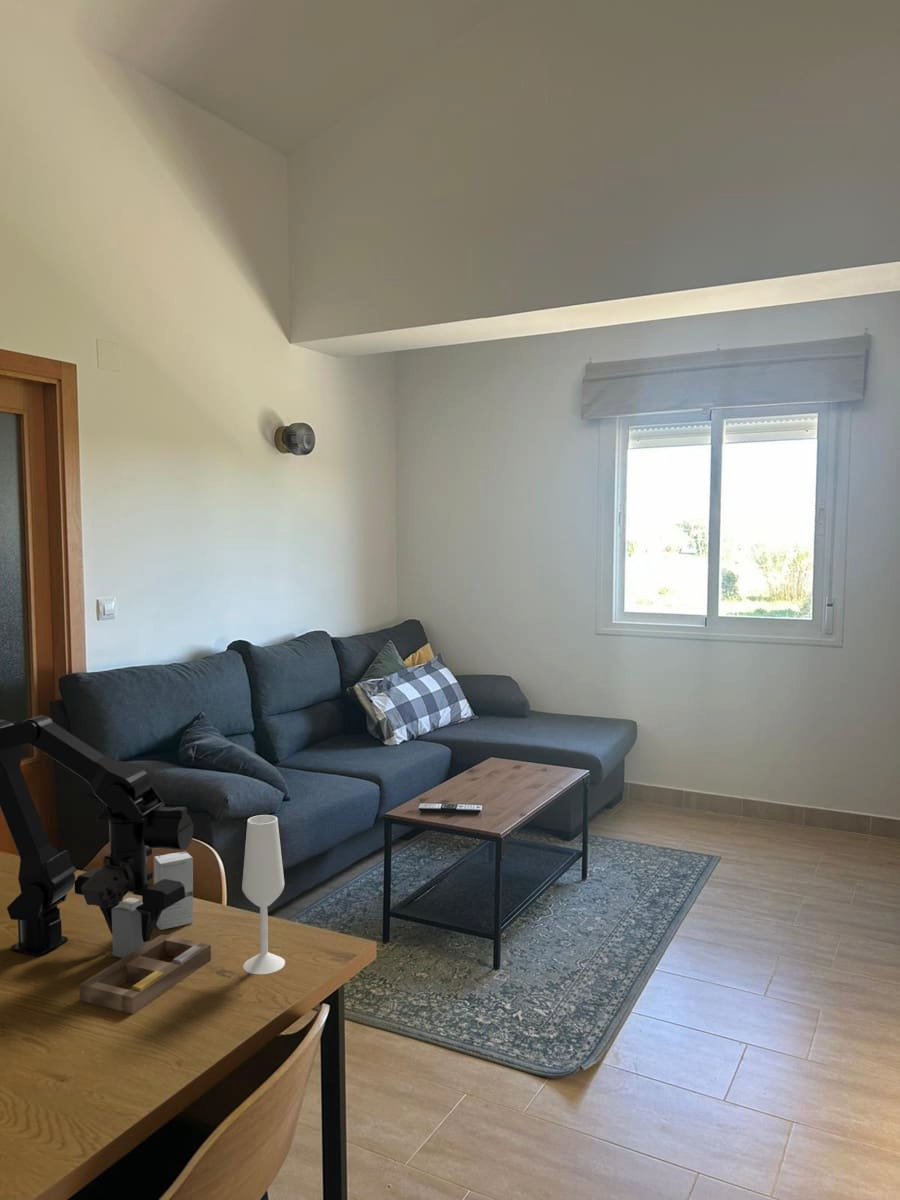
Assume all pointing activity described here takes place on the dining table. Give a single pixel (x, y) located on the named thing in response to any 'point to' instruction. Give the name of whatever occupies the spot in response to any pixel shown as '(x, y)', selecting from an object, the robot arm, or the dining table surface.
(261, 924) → the champagne flute
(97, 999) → the brown wooden flat frame
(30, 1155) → the dining table surface
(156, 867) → the skincare box
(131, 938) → the plug
